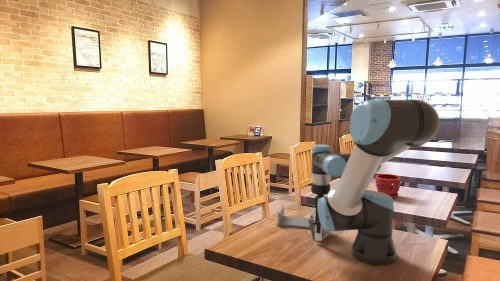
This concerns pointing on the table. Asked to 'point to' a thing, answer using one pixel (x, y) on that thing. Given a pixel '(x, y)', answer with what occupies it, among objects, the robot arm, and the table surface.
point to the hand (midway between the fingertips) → (319, 233)
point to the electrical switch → (311, 221)
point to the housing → (294, 220)
